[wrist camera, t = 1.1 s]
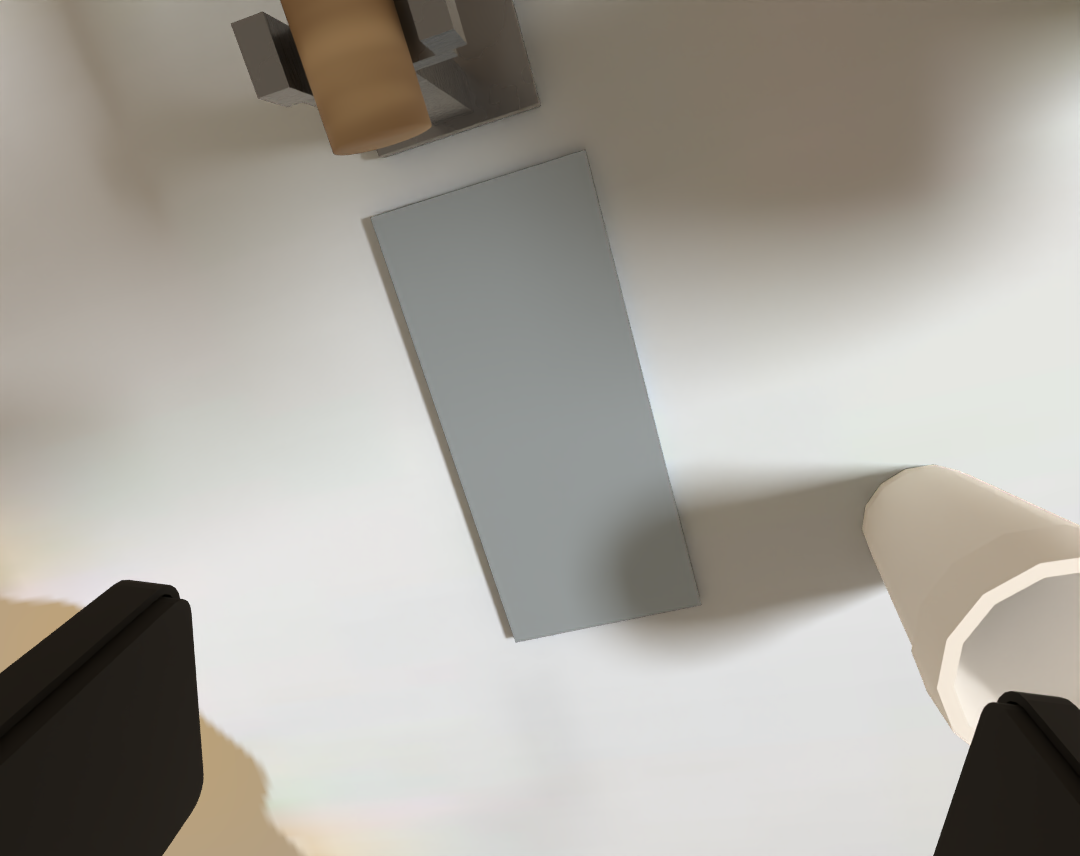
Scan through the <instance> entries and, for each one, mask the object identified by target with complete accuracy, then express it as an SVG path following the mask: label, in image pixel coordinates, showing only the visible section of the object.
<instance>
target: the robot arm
mask: <svg viewBox="0 0 1080 856" xmlns="http://www.w3.org/2000/svg"><path fill="white" fill-rule="evenodd" d="M202 762H203V761H202V749H201V734H200V721H199V708H198V694H197V681H196V667H195V654H194V641H193V627H192V614H191V608H190V605H189V603H188V601H186V600H184V599H180V596H179V593H178V591H177V590H176V588H175V587H173V586H171V585H165V584H157V583H149V582H141V581H133V580H121V581H120V582H118V583H116V584H114V585H113V586H112V587H110V588H109V589H108V590H107V591H105V592H104V593H103V594H101V595H100V596H99V597H98V598H96V599H95V600H94V601H92V602H91V603H90V604H89V605H87V606H86V607H85V608H83V609H82V610H81V611H80V612H78V613H77V614H76V615H74V616H73V617H72V618H71V619H69V620H68V621H67V622H65V624H63V625H62V626H60V627H59V628H58V629H57V630H56V631H54V632H53V633H51V634H50V635H49V636H48V637H46V638H45V639H44V640H42V641H41V642H40V643H39V644H37V645H36V646H35V647H33V648H32V649H31V650H30V651H28V652H27V653H26V654H24V655H23V656H22V657H21V658H19V659H18V660H17V661H15V662H14V663H13V664H12V665H10V666H9V667H8V668H7V669H5V670H4V671H3V672H1V673H0V856H162V855H163V854H164V852H165V851H166V849H167V848H168V846H169V845H170V844H171V842H172V841H173V839H174V838H175V836H176V835H177V833H178V832H179V830H180V829H181V827H182V826H183V824H184V823H185V821H186V820H187V818H188V817H189V816H190V814H191V813H192V811H193V809H194V808H195V806H196V804H197V801H198V799H199V797H200V793H201V790H202V785H203V763H202ZM933 856H1080V709H1079V708H1078V707H1077V706H1076V705H1074V704H1073V703H1072V702H1071V701H1069V700H1068V699H1065V698H1062V697H1056V696H1048V695H1040V694H1032V693H1024V692H1017V691H1009V692H1005V693H1003V694H1002V695H1001V696H1000V697H999V699H998V700H997V702H991V703H988V704H987V705H986V706H985V707H984V708H983V710H982V712H981V715H980V718H979V721H978V724H977V727H976V730H975V733H974V736H973V739H972V742H971V745H970V748H969V751H968V754H967V757H966V760H965V763H964V766H963V769H962V772H961V775H960V778H959V781H958V784H957V787H956V790H955V793H954V796H953V799H952V802H951V805H950V808H949V811H948V814H947V817H946V820H945V823H944V826H943V829H942V832H941V834H940V837H939V840H938V843H937V846H936V849H935V852H934V855H933Z"/></svg>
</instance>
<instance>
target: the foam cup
mask: <svg viewBox="0 0 1080 856" xmlns="http://www.w3.org/2000/svg"><path fill="white" fill-rule="evenodd" d="M862 531H863V534H864V536H865V539H866V541H867V544H868V547H869V549H870V552H871V554H872V557H873V559H874V561H875V564H876V566H877V568H878V570H879V573H880V575H881V577H882V579H883V582H884V584H885V586H886V588H887V591H888V593H889V595H890V597H891V600H892V602H893V604H894V606H895V609H896V611H897V613H898V615H899V618H900V620H901V622H902V624H903V627H904V629H905V631H906V633H907V636H908V638H909V640H910V642H911V645H912V650H911V652H912V654H913V657H914V659H915V662H916V664H917V667H918V670H919V672H920V675H921V677H922V680H923V682H924V685H925V688H926V690H927V692H928V694H929V696H930V697H931V699H932V700H933V702H934V703H935V705H936V706H937V708H938V709H939V711H940V712H941V714H942V715H943V717H944V718H945V720H946V721H947V723H948V725H949V726H950V728H951V729H952V731H953V732H954V733H955V734H956V735H958V736H959V737H960V738H961V739H963V740H964V741H965V742H966V743H968V744H969V745H971V742H972V739H973V736H974V733H975V730H976V727H977V724H978V721H979V718H980V715H981V712H982V710H983V708H984V707H985V706H986V705H987V704H988V703H991V702H997V700H998V699H999V697H1000V696H1001V695H1002V694H1003V693H1005V692H1009V691H1017V692H1024V693H1032V694H1040V695H1048V696H1056V697H1062V698H1065V699H1068V700H1069V701H1071V702H1072V703H1073V704H1074V705H1076V706H1077V707H1078V708H1079V709H1080V525H1078V524H1075V523H1073V522H1071V521H1069V520H1067V519H1065V518H1062V517H1060V516H1058V515H1056V514H1054V513H1051V512H1049V511H1047V510H1045V509H1043V508H1041V507H1038V506H1036V505H1034V504H1032V503H1030V502H1027V501H1025V500H1023V499H1021V498H1019V497H1017V496H1014V495H1012V494H1010V493H1008V492H1006V491H1003V490H1001V489H999V488H997V487H995V486H992V485H990V484H988V483H986V482H984V481H982V480H979V479H977V478H975V477H973V476H971V475H968V474H966V473H962V472H961V471H958V470H954V469H950V468H946V467H942V466H938V465H934V464H933V465H927V466H921V467H915V468H909V469H904V470H903V471H901V472H900V473H898V474H896V475H895V476H893V477H891V478H890V479H888V480H887V481H885V482H883V483H882V484H880V486H879V487H878V489H877V490H876V492H875V493H874V494H873V496H872V497H871V499H870V500H869V502H868V503H867V504H866V506H865V513H864V519H863V526H862Z"/></svg>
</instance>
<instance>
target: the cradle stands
mask: <svg viewBox="0 0 1080 856" xmlns="http://www.w3.org/2000/svg"><path fill="white" fill-rule="evenodd" d="M393 1H394V4H395V7H396V11H397V14H398V17H399V20H400V24H401V27H402V30H403V33H404V37H405V40H406V43H407V46H408V50H409V53H410V56H411V59H412V63H413V66H414V69H415V72H416V76H417V79H418V82H419V85H420V89H421V92H422V95H423V98H424V102H425V105H426V108H427V111H428V115H429V118H430V121H431V124H432V126H431V128H430V129H428V130H427V131H425V132H423V133H422V134H420V135H417V136H415V137H413V138H410V139H408V140H405V141H402V142H400V143H397V144H394V145H390V146H387V147H384V148H380V149H377V152H378V155H379V156H380V157H388V156H391V155H394V154H397V153H400V152H403V151H406V150H409V149H412V148H415V147H418V146H421V145H424V144H427V143H430V142H433V141H436V140H439V139H442V138H445V137H448V136H451V135H454V134H457V133H460V132H463V131H467V130H470V129H473V128H476V127H479V126H482V125H485V124H488V123H491V122H494V121H497V120H500V119H503V118H506V117H509V116H512V115H515V114H518V113H521V112H524V111H527V110H530V109H533V108H536V107H539V106H541V105H540V101H539V97H538V93H537V90H536V86H535V82H534V78H533V75H532V71H531V67H530V63H529V60H528V56H527V52H526V48H525V45H524V41H523V37H522V34H521V30H520V26H519V22H518V19H517V15H516V11H515V7H514V4H513V0H393ZM231 26H232V28H233V31H234V34H235V37H236V39H237V42H238V45H239V47H240V50H241V53H242V56H243V58H244V61H245V64H246V66H247V69H248V72H249V75H250V77H251V80H252V83H253V86H254V88H255V91H256V94H257V96H258V99H262V100H265V101H269V102H272V103H275V104H279V105H282V106H285V107H289V106H292V105H295V104H298V103H301V102H303V103H306V104H309V105H312V106H316V102H315V99H314V96H313V93H312V90H311V87H310V84H309V82H308V79H307V76H306V73H305V70H304V67H303V64H302V61H301V59H300V56H299V53H298V50H297V47H296V44H295V41H294V38H293V36H292V33H291V30H290V27H289V26H288V25H286V24H284V23H282V22H280V21H279V20H277V19H275V18H273V17H271V16H270V15H268V14H266V13H264V12H260V13H258V14H255V15H253V16H250V17H247V18H245V19H242V20H239V21H237V22H234V23H231Z"/></svg>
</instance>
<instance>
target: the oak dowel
mask: <svg viewBox="0 0 1080 856" xmlns="http://www.w3.org/2000/svg"><path fill="white" fill-rule="evenodd" d="M280 1H281V4H282V7H283V10H284V12H285V15H286V18H287V21H288V24H289V27H290V30H291V33H292V36H293V38H294V41H295V44H296V47H297V50H298V53H299V56H300V59H301V61H302V64H303V67H304V70H305V73H306V76H307V79H308V82H309V84H310V87H311V90H312V93H313V96H314V99H315V102H316V105H317V108H318V110H319V113H320V116H321V119H322V122H323V125H324V128H325V131H326V133H327V136H328V139H329V142H330V145H331V148H332V151H333V154H335V155H351V154H357V153H363V152H368V151H372V150H376V149H380V148H384V147H387V146H390V145H394V144H397V143H400V142H402V141H405V140H408V139H410V138H413V137H415V136H417V135H420V134H422V133H423V132H425V131H427V130H428V129H430V128H431V126H432V124H431V121H430V118H429V115H428V111H427V108H426V105H425V102H424V98H423V95H422V92H421V89H420V85H419V82H418V79H417V76H416V72H415V69H414V66H413V63H412V59H411V56H410V53H409V50H408V46H407V43H406V40H405V37H404V33H403V30H402V27H401V24H400V20H399V17H398V14H397V11H396V7H395V4H394V1H393V0H280Z"/></svg>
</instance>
